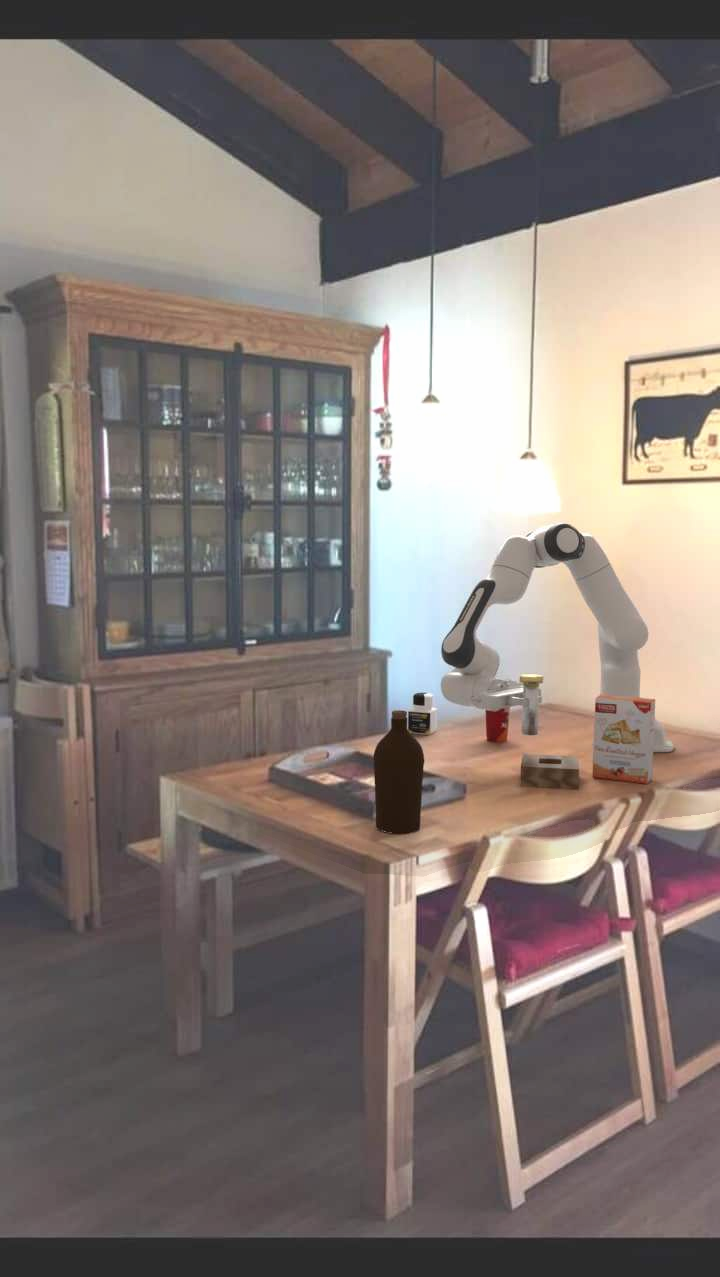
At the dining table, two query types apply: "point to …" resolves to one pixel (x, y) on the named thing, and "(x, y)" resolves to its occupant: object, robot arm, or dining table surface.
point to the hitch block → (550, 771)
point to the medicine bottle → (422, 715)
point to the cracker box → (623, 738)
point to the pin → (530, 703)
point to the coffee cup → (497, 724)
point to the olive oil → (398, 778)
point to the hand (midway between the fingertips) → (533, 701)
